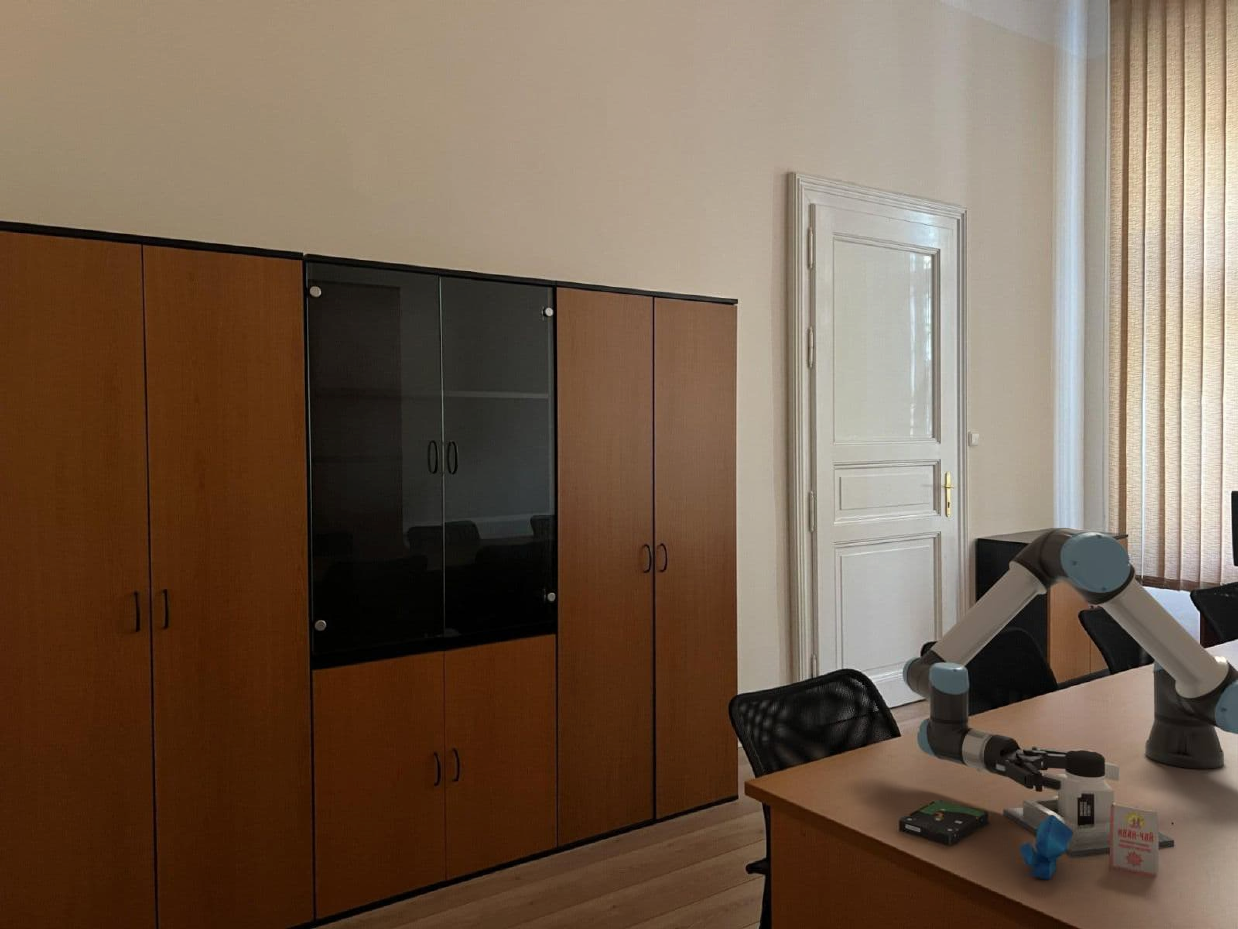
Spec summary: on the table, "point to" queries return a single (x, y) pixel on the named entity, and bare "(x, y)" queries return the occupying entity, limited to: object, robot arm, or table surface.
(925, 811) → the disk drive
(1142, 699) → the table surface
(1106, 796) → the container
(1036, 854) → the blue lump
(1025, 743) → the table surface
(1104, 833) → the collar plate
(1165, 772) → the table surface
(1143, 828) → the tea bag
